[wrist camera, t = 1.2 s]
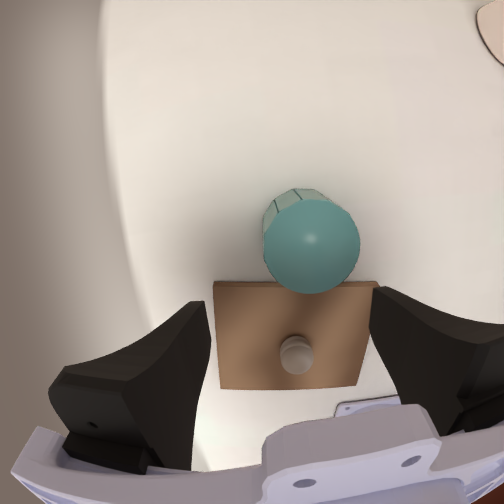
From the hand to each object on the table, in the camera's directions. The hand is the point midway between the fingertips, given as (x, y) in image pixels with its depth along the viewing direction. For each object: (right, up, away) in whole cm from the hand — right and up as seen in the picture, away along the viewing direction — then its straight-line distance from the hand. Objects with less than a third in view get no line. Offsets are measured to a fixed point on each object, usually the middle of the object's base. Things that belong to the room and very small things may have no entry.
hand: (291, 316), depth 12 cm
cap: (+2, +4, +8) cm, 9 cm away
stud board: (+2, -4, +10) cm, 12 cm away
